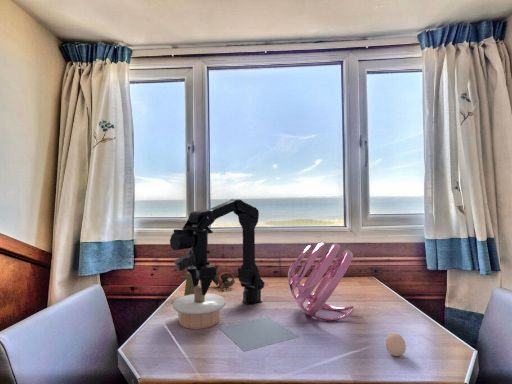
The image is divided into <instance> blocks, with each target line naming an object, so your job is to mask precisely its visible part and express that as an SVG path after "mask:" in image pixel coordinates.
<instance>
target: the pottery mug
mask: <svg viewBox="0 0 512 384" xmlns="http://www.w3.org/2000/svg"><path fill="white" fill-rule="evenodd" d="M230 277H231V280H229V278H230ZM212 282H213V283H214V284H215V286H219V290H222V291H224V289H227V288H228V289H229V288H230V287H232V286H233V285H235V283H236V280H235V276H234V275H233V274H232V273H230V272H226V271H225V272H221V273H220V274H219V275H218V274H217V275H215V277H214V278H213V280H212Z"/></svg>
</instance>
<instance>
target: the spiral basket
mask: <svg viewBox="0 0 512 384" xmlns="http://www.w3.org/2000/svg"><path fill="white" fill-rule="evenodd" d="M325 245H326V242H325V241H320V242H318V243H317V244H316V245H315V246H314V248H313V250H312V251H311V253H310V254H309V255H308V257H307V258H306V260H305V261H304V263H303V264H302V266H301V267H300V269H299V270H298V271H297V273H296V274H295V271H296V269H297V268H298V266H299V265H300V263H301V262H302V261H303V259H304V257H305V255H306V254H307V253H308V251H309V250H310V248H311V247H312V244H308V245H307V246H305V247H304V249H303V250H302V252H301V253H300V254H299V256H298V258H297V259H296V260H295V262H291V264H290V265H289V268H288V273H287V279H288V290H289V293H290V295H291V296H292V299H293V300H294V303H295V304H296V306H297V307H298V308H300V309H301V310H302V311H303V312H304V313H305V314H306V315H308V316H309V317H312V318H315V319H318V320H319V321H320V320H321V321H326V322H335V321H340V320H343V319H346V318H347V317H349V316H350V315H352V314H353V312H354V311H355V309H354V308H355V307H354V306H353V305H352V306H346V307H341V306H340V307H339V306H335V305H331V304H327V303H326V302H327V301H328V300H329V298H331V295H332V294H333V293H334V292H335V290H336V289H337V287H338V285H340V282H341V280H342V279H343V277H344V275H346V272H347V270H348V269H349V267H350V264H351V262H352V259H353V257H354V254H353V253H352V251H350V250H349V249H345V250H344V251H343V252H342V253H341V254H340V255H339V256H338V258H336V256H337V254H338V252H339V250H340V248H341V246H340V244H338V243H335V242H334V243H332V244H331V245H330V246H329V247H328V248H327V250H326V251H325V253H323V255H322V256H321V258H320V259H319V260H318V262H317V263H316V265H315V266H314V268H313V269H312V271H310V274H309V275H308V276H307V278H306V280H305V281H304V282H303V284H301V281H302V280H303V278H304V277H305V276H306V274H307V273H308V271H309V270H310V269H311V267H312V265H313V264H314V262H315V261H316V259H317V257H319V254H320V253H321V252H322V250H323V248H324V247H325ZM335 258H336V260H335V261H334V259H335ZM333 261H334V263H333ZM332 263H333V264H332ZM330 266H331V267H330ZM328 269H329V270H328ZM291 278H292V279H291ZM296 288H297V291H298V293H297V294H296V293H295V289H296ZM315 288H316V289H315ZM314 290H315V291H314ZM306 300H307V304H306V307H305V306H304V305H303V304H304V303H305V301H306ZM322 308H323V309H325V310H328V309H331V310H330V311H334V310H336V311H335V312H343V311H348V312H347V313H345V314H343V315H341V316H337V317H324V316H320V315H318V314H317V313H318V312H319V311H320V310H321V309H322ZM349 310H350V311H349Z"/></svg>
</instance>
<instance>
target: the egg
mask: <svg viewBox="0 0 512 384" xmlns="http://www.w3.org/2000/svg"><path fill="white" fill-rule="evenodd" d="M385 348H386V350H387V351H388V353H390V355H391V356H394V357H400V356H403V355H404V353H406V350H407V345H406V341H405V340H404V338H403V337H402V335H401V334H399V333H397V332H392V333H390V334H388V336H387V337H386V339H385Z"/></svg>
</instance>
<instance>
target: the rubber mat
mask: <svg viewBox="0 0 512 384" xmlns="http://www.w3.org/2000/svg"><path fill="white" fill-rule="evenodd" d="M217 328H218V329H219V330H220V331H221V332H222V333H224V335H226V336H227V337H228V338H229V339H230V340H231V341H232V342H233V343H234V344H235V345H236V346H238V348H240V349H241V350H242V351H243V353H245V352H248V351H251V350H256V349H259V348H262V347H266V346H269V345H273V344H274V345H275V344H277V343H282V342H284V341H288V340H293V339H296V338H300V335H298V334H296V333H295V332H292V330H289V329H288V328H286V327H285V326H284V325H282V324H280V323H278V321H275V320H274V319H272V318H270V316H262V317H259V318H254V319H250V320H249V319H248V320H245V321H240V322H236V323H230V324H227V325H221V326H218V327H217Z"/></svg>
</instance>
